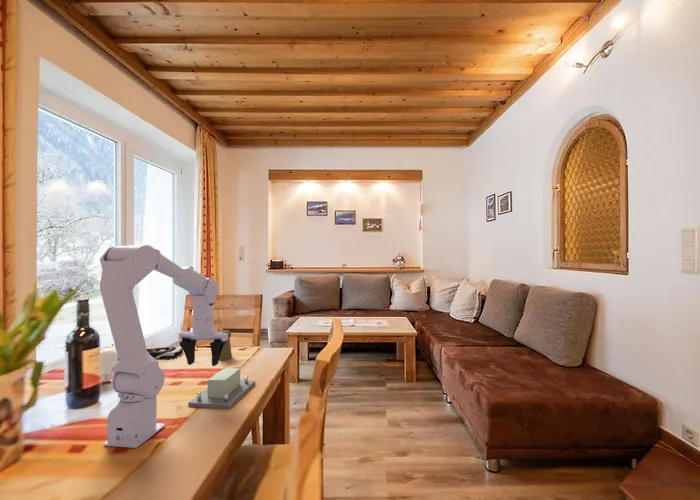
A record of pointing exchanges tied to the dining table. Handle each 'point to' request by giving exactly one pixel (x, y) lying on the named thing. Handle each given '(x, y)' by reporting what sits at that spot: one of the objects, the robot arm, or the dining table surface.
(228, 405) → the pin holder
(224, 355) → the olive pepper mill
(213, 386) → the sage green block
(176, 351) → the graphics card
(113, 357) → the lightbulb
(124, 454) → the dining table surface
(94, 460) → the dining table surface
